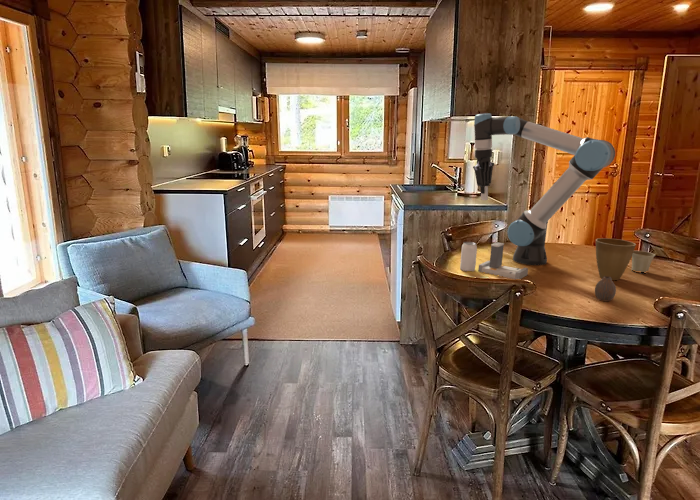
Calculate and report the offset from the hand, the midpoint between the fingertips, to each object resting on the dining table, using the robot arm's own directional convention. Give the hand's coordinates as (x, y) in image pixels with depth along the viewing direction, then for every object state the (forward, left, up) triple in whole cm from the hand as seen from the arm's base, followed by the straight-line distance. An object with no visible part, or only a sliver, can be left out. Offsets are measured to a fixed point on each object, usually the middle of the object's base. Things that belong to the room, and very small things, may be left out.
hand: (484, 199), depth 230 cm
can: (+12, +20, -28) cm, 37 cm away
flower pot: (-65, +24, -28) cm, 75 cm away
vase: (-26, +59, -28) cm, 71 cm away
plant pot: (-45, +33, -28) cm, 63 cm away
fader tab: (+1, +23, -27) cm, 36 cm away
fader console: (-1, +25, -28) cm, 38 cm away
